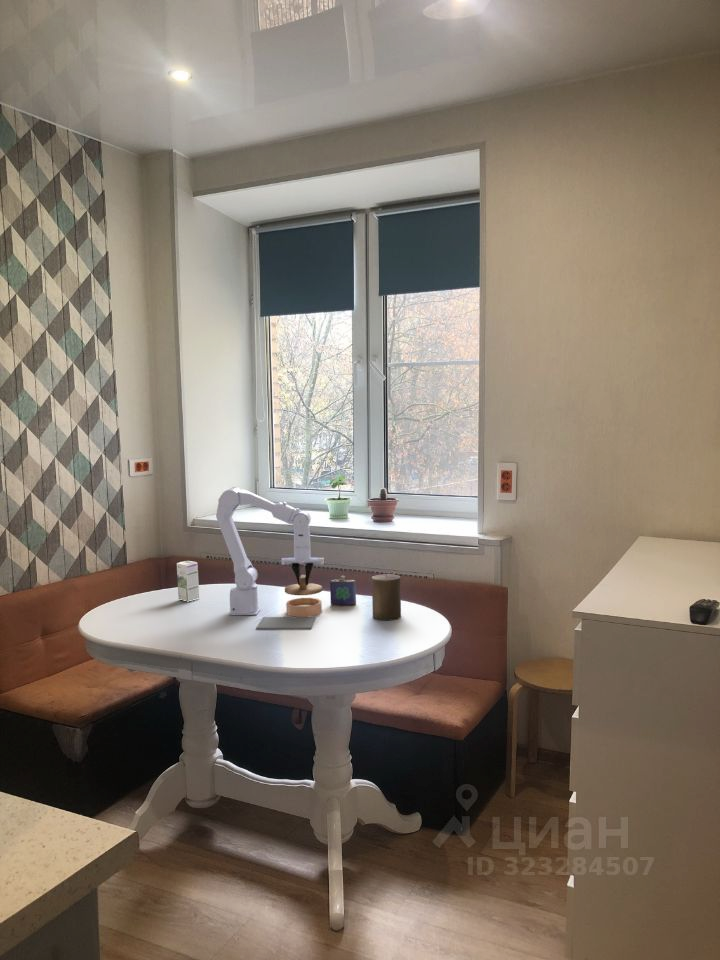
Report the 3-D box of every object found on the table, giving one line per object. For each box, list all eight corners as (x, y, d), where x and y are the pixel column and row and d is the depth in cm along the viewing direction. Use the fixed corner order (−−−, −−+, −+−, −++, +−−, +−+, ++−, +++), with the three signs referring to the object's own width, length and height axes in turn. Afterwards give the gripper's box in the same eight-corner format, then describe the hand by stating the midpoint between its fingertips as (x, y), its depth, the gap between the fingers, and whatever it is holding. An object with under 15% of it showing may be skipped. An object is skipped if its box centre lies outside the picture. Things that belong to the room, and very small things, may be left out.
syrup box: (200, 599, 275) (198, 561, 274) (187, 602, 270) (185, 564, 269) (190, 597, 279) (188, 559, 277) (177, 600, 274) (176, 562, 272)
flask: (356, 603, 264) (355, 574, 263) (355, 605, 261) (355, 576, 260) (330, 604, 265) (330, 575, 264) (330, 606, 262) (329, 577, 261)
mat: (256, 629, 236) (256, 627, 236) (263, 618, 248) (263, 617, 248) (311, 629, 235) (311, 627, 235) (315, 618, 247) (315, 616, 247)
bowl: (284, 616, 249) (284, 606, 249) (289, 607, 261) (289, 597, 261) (319, 616, 249) (319, 606, 248) (323, 607, 260) (322, 597, 260)
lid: (281, 595, 248) (281, 581, 248) (287, 586, 261) (287, 572, 260) (319, 595, 247) (319, 580, 247) (324, 585, 260) (323, 572, 260)
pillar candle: (400, 620, 242) (399, 576, 240) (370, 620, 243) (370, 576, 242) (401, 613, 251) (401, 570, 250) (373, 612, 253) (373, 569, 251)
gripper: (279, 548, 249) (280, 587, 250) (321, 548, 248) (322, 587, 249) (282, 544, 256) (284, 582, 257) (324, 544, 255) (324, 582, 256)
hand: (303, 584), depth 254 cm, fingers closed on lid
